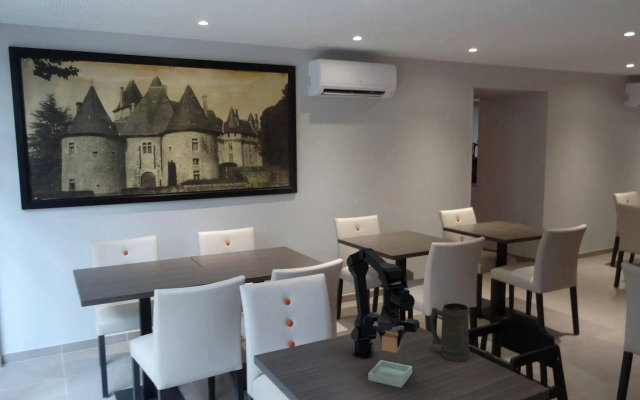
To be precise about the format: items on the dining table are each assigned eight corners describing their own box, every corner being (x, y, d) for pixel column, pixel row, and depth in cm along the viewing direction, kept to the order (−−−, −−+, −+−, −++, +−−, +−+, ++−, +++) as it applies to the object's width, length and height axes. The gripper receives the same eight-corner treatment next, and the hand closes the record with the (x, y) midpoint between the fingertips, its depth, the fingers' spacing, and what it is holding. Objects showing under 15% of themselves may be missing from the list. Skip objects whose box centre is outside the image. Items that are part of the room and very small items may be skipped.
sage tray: (368, 380, 166) (368, 373, 166) (380, 366, 176) (380, 360, 176) (401, 387, 160) (401, 380, 160) (412, 373, 171) (412, 366, 171)
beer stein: (472, 352, 188) (469, 302, 187) (471, 363, 178) (468, 310, 177) (432, 349, 193) (429, 301, 192) (429, 360, 183) (426, 309, 182)
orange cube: (382, 350, 167) (382, 336, 166) (386, 345, 171) (386, 331, 171) (395, 352, 164) (395, 338, 164) (400, 347, 169) (400, 333, 168)
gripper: (357, 305, 163) (357, 349, 165) (410, 313, 155) (410, 359, 156) (369, 296, 173) (369, 338, 175) (420, 303, 165) (419, 347, 166)
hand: (391, 346), depth 168 cm, fingers closed on orange cube, 5 cm apart
